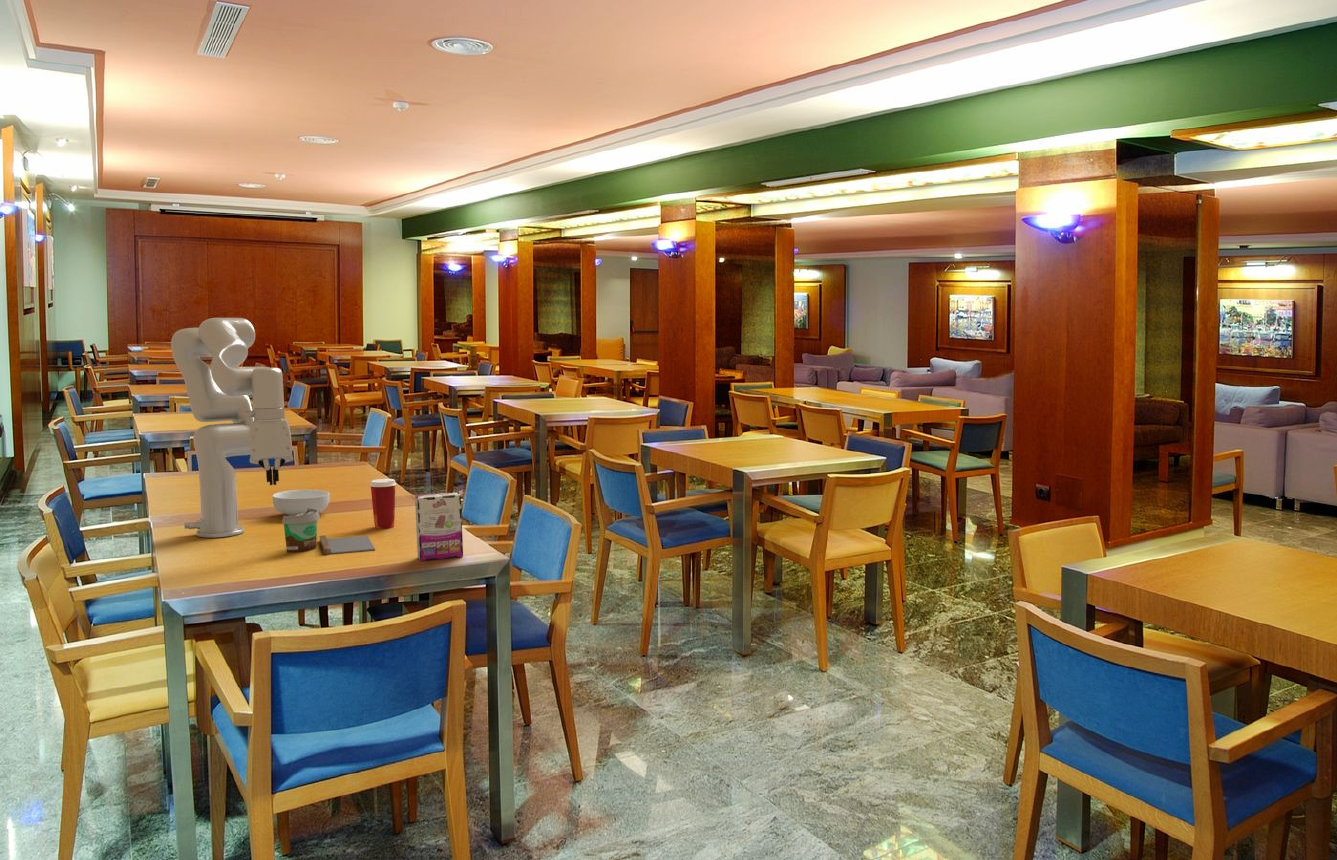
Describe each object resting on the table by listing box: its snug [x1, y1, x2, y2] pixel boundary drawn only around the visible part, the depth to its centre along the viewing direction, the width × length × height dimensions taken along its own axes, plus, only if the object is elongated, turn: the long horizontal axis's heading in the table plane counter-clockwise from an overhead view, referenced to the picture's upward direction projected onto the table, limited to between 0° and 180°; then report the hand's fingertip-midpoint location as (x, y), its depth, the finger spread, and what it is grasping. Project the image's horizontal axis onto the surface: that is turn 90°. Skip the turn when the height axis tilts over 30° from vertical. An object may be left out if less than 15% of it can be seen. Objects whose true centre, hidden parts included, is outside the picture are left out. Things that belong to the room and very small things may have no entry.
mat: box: [327, 535, 376, 555], centre depth 266 cm, size 11×18×1 cm, turn 23°
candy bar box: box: [414, 492, 464, 562], centre depth 251 cm, size 11×5×16 cm, turn 114°
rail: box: [319, 534, 331, 556], centre depth 263 cm, size 2×18×2 cm, turn 23°
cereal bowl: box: [271, 489, 331, 516], centre depth 308 cm, size 17×17×7 cm
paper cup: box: [369, 478, 397, 530], centre depth 290 cm, size 8×8×14 cm
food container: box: [281, 508, 321, 554], centre depth 261 cm, size 12×6×10 cm, turn 168°
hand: (273, 484), depth 256 cm, fingers closed
